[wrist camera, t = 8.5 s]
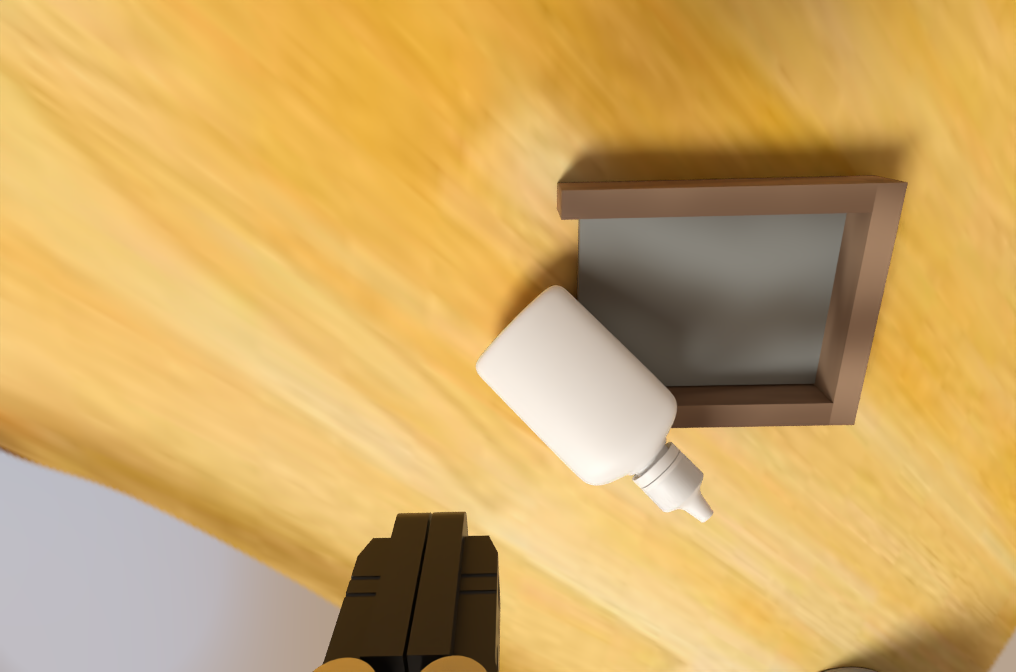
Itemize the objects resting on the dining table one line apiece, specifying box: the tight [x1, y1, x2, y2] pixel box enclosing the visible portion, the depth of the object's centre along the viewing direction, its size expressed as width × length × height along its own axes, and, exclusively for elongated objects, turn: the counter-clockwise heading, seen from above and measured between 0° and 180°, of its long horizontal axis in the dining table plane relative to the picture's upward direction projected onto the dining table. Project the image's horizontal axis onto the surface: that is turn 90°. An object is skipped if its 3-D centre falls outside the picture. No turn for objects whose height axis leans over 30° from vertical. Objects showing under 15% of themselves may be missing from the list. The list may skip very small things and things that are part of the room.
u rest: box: [557, 175, 908, 428], centre depth 28 cm, size 11×14×2 cm
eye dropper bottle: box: [476, 285, 713, 522], centre depth 27 cm, size 4×6×12 cm
